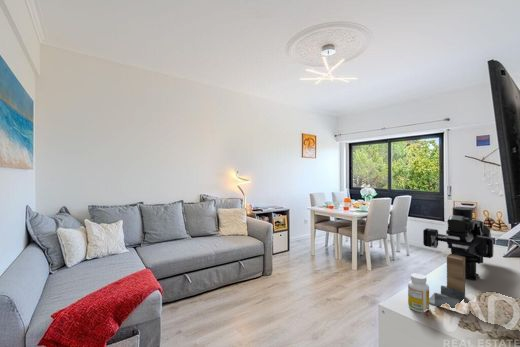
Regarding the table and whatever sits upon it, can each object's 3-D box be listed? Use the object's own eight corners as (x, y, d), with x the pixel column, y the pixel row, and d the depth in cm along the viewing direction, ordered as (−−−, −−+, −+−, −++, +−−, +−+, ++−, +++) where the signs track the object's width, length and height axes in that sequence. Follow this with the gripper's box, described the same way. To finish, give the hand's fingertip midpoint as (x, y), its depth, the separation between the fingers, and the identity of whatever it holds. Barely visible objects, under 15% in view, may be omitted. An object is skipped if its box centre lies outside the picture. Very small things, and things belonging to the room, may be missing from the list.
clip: (434, 293, 84) (434, 283, 84) (473, 305, 77) (473, 294, 77) (426, 302, 79) (426, 291, 79) (467, 316, 71) (467, 303, 71)
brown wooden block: (450, 292, 85) (449, 253, 85) (465, 296, 82) (465, 256, 82) (446, 296, 82) (446, 256, 82) (462, 301, 80) (462, 259, 79)
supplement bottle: (421, 302, 79) (421, 271, 79) (433, 312, 74) (433, 279, 73) (404, 303, 79) (404, 272, 79) (415, 313, 73) (415, 280, 73)
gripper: (430, 212, 98) (416, 218, 87) (496, 218, 84) (488, 226, 73) (430, 240, 98) (416, 250, 88) (496, 252, 84) (488, 265, 74)
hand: (449, 247), depth 80 cm, fingers open, 9 cm apart
